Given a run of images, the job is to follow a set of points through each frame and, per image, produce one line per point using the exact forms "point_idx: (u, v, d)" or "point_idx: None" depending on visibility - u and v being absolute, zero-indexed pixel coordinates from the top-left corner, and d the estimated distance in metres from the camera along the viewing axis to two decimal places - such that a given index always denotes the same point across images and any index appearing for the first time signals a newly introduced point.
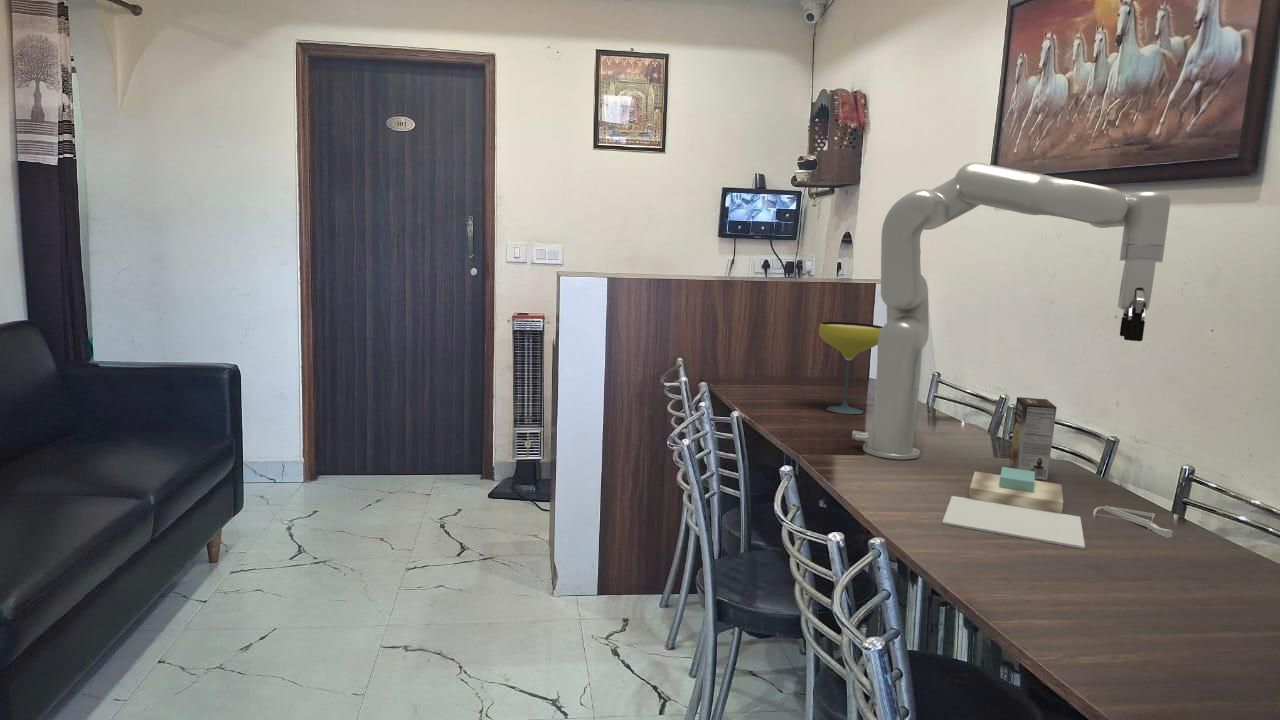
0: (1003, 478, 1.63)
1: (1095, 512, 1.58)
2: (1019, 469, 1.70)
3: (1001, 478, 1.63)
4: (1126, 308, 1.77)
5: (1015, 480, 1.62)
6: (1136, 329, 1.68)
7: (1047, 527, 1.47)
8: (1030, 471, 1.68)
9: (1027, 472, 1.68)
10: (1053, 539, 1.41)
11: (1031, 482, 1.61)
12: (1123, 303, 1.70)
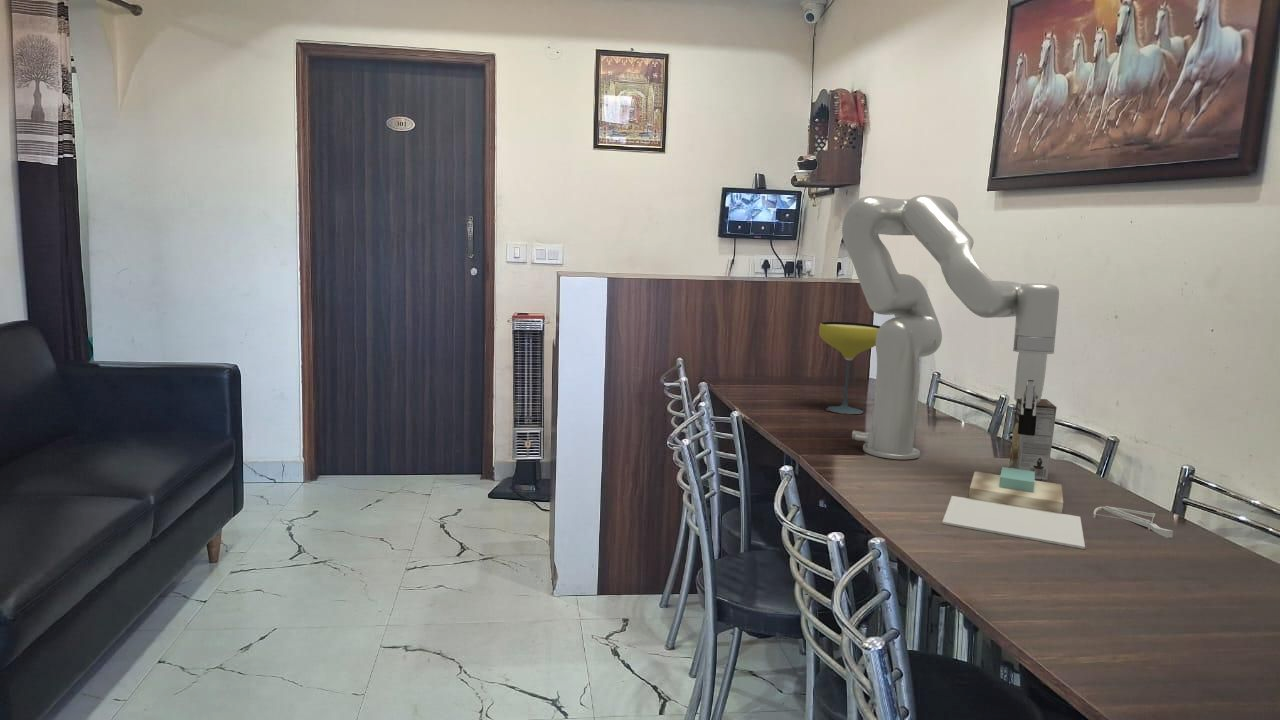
0: (1003, 478, 1.63)
1: (1095, 512, 1.58)
2: (1019, 469, 1.70)
3: (1001, 478, 1.63)
4: None
5: (1015, 480, 1.62)
6: (1028, 424, 1.72)
7: (1047, 527, 1.47)
8: (1030, 471, 1.68)
9: (1027, 472, 1.68)
10: (1053, 539, 1.41)
11: (1031, 482, 1.61)
12: (1016, 395, 1.69)
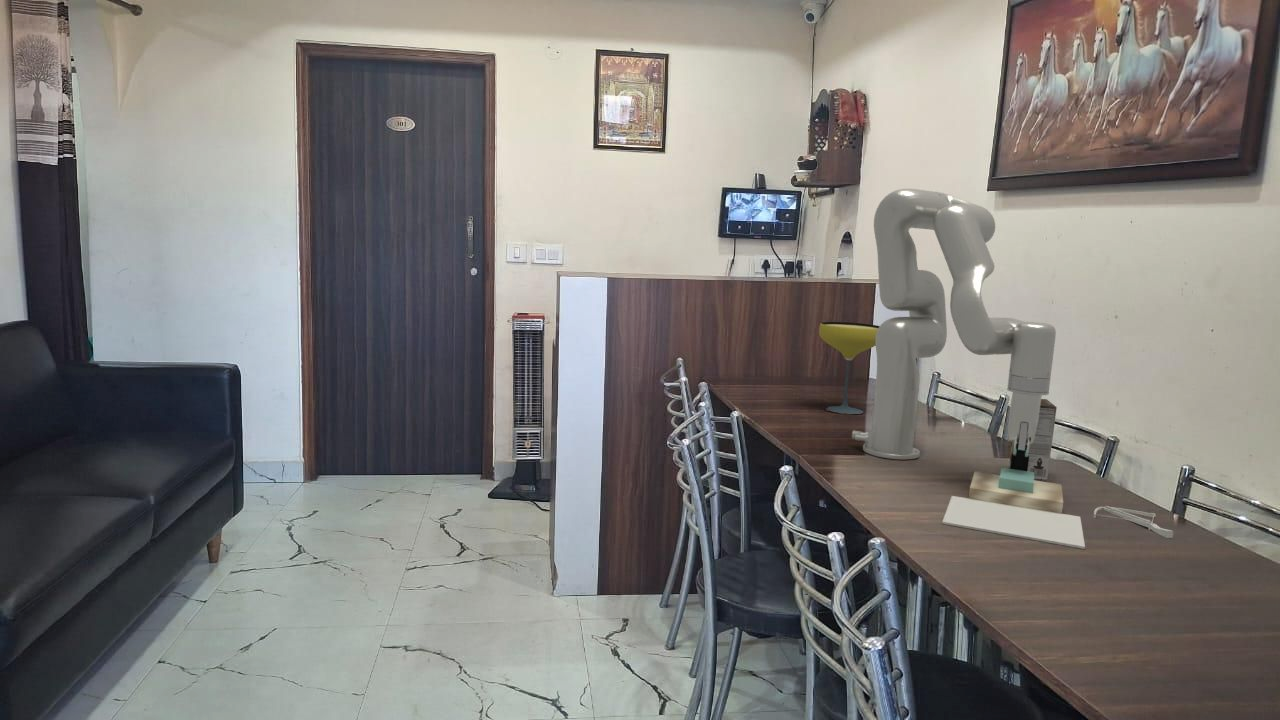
0: (1002, 479, 1.62)
1: (1096, 512, 1.57)
2: (1019, 470, 1.69)
3: (1000, 479, 1.62)
4: None
5: (1014, 481, 1.61)
6: (1020, 465, 1.69)
7: (1047, 527, 1.47)
8: (1030, 472, 1.68)
9: (1027, 473, 1.67)
10: (1053, 539, 1.41)
11: (1030, 483, 1.60)
12: (1008, 436, 1.66)
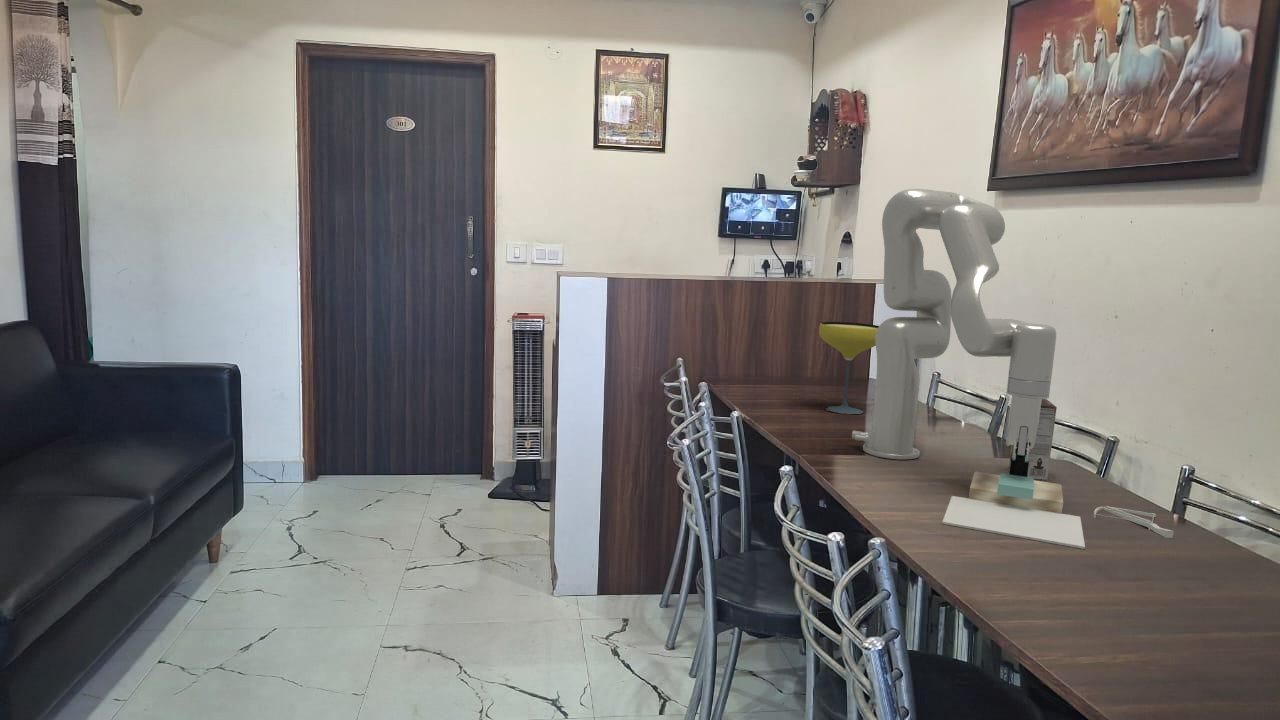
0: (1001, 485, 1.58)
1: (1096, 512, 1.57)
2: None
3: (999, 485, 1.58)
4: (1015, 444, 1.66)
5: (1014, 487, 1.57)
6: (1020, 470, 1.64)
7: (1047, 527, 1.47)
8: (1029, 477, 1.63)
9: (1026, 478, 1.62)
10: (1053, 539, 1.41)
11: (1030, 489, 1.56)
12: (1008, 441, 1.62)
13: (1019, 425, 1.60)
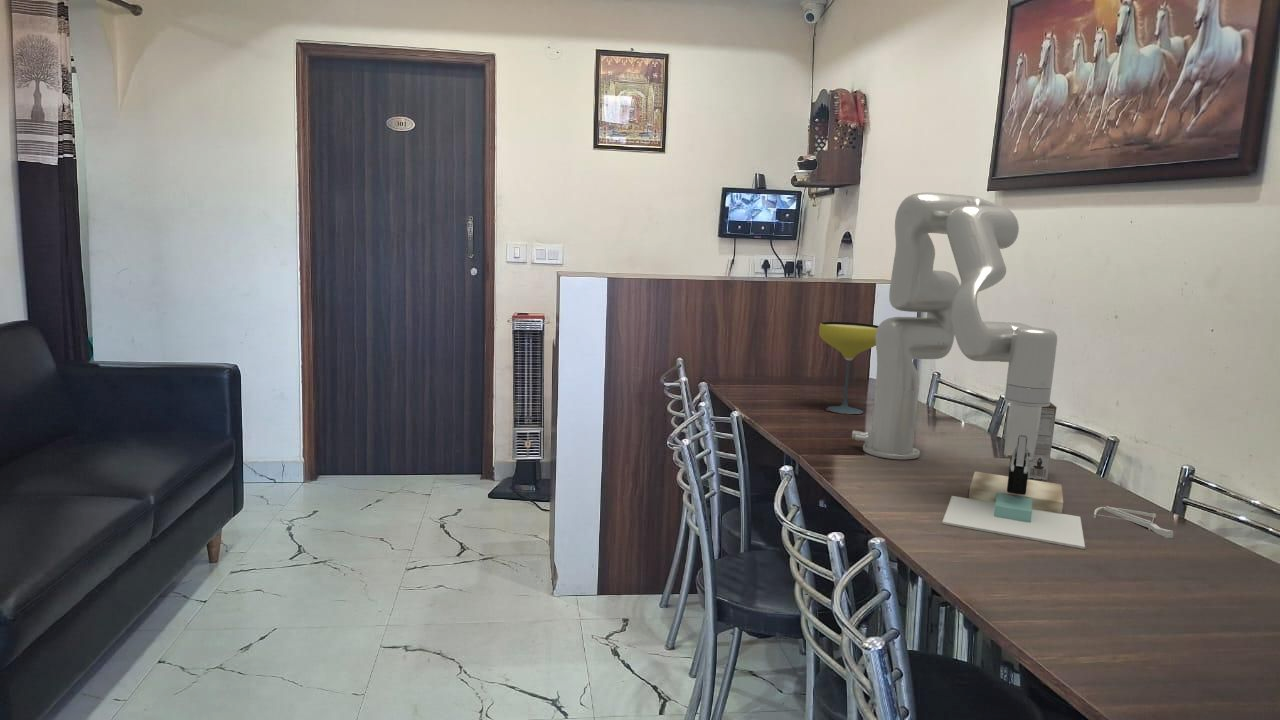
0: (998, 507, 1.51)
1: (1096, 512, 1.57)
2: (1015, 496, 1.58)
3: (996, 507, 1.51)
4: None
5: (1011, 509, 1.50)
6: (1019, 482, 1.56)
7: (1047, 527, 1.47)
8: (1027, 498, 1.57)
9: (1024, 499, 1.56)
10: (1053, 539, 1.41)
11: (1028, 511, 1.49)
12: (1006, 451, 1.53)
13: (1017, 434, 1.52)
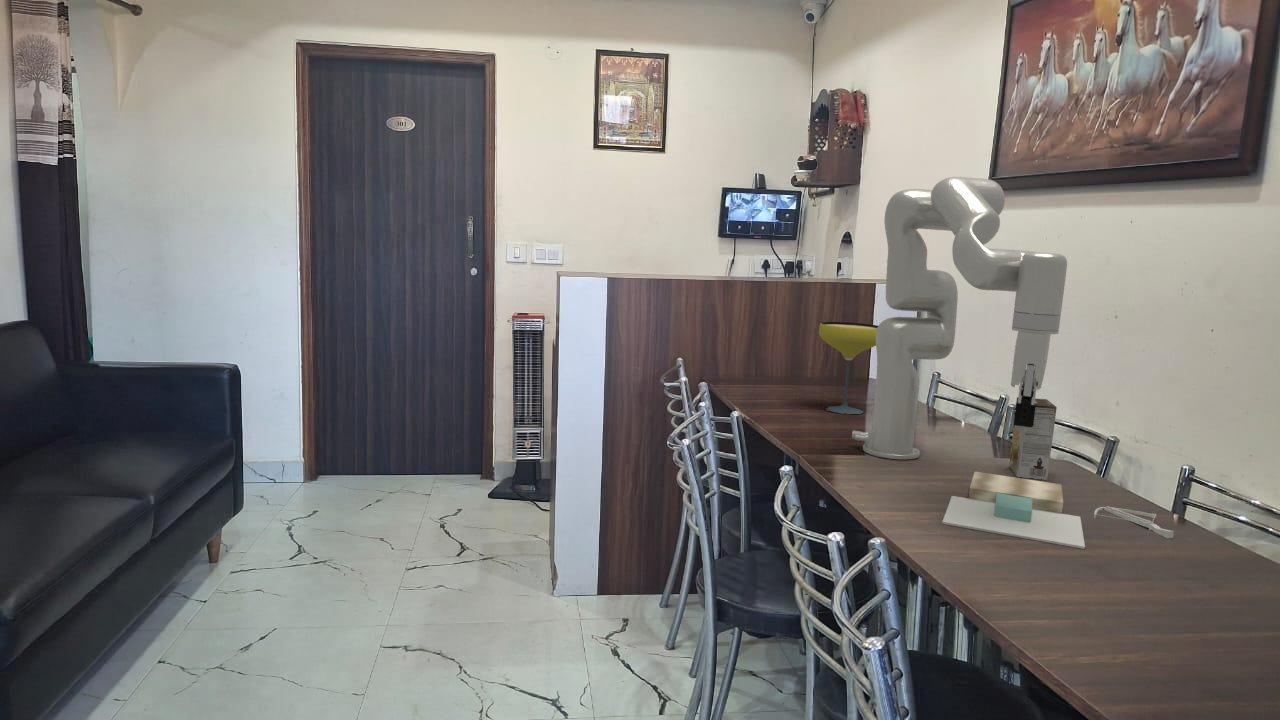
0: (998, 507, 1.51)
1: (1096, 512, 1.57)
2: (1015, 496, 1.58)
3: (996, 507, 1.51)
4: None
5: (1011, 509, 1.50)
6: (1026, 414, 1.50)
7: (1047, 527, 1.47)
8: (1027, 498, 1.57)
9: (1024, 499, 1.56)
10: (1053, 539, 1.41)
11: (1028, 511, 1.49)
12: (1013, 380, 1.47)
13: (1025, 363, 1.46)
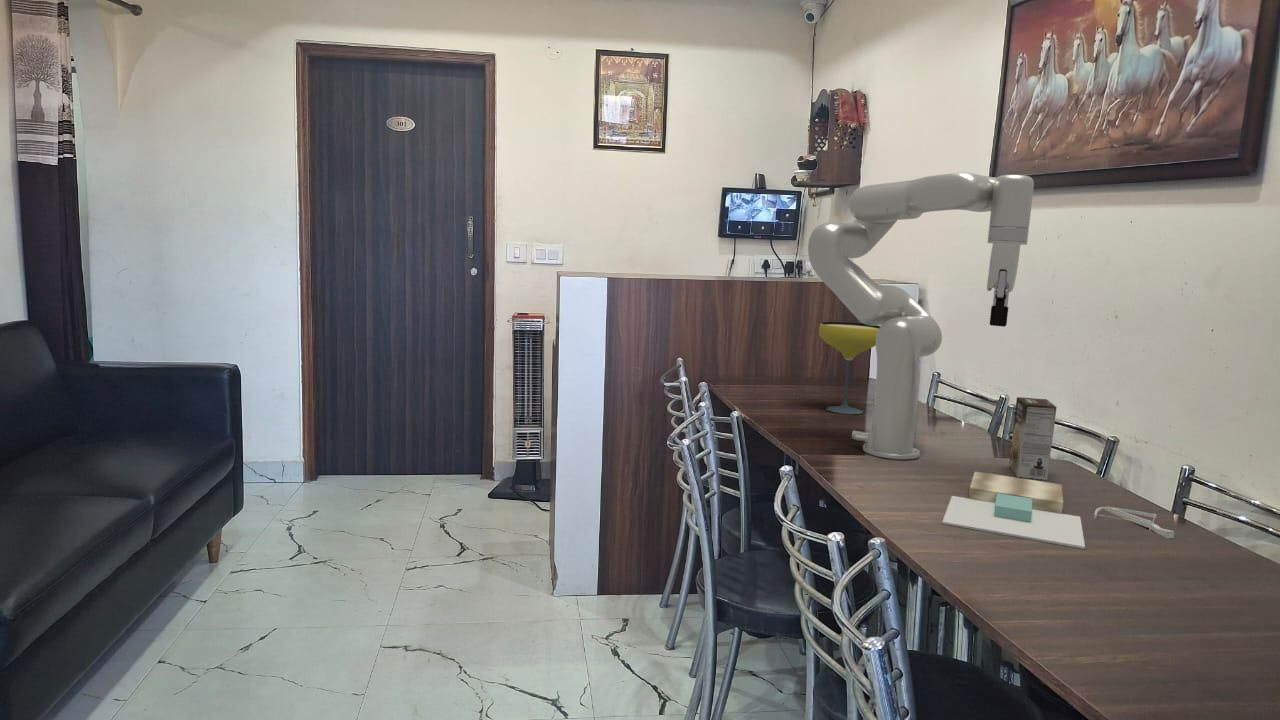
0: (998, 507, 1.51)
1: (1096, 512, 1.57)
2: (1015, 496, 1.58)
3: (996, 507, 1.51)
4: None
5: (1011, 509, 1.50)
6: (1000, 315, 1.75)
7: (1047, 527, 1.47)
8: (1027, 498, 1.57)
9: (1024, 499, 1.56)
10: (1053, 539, 1.41)
11: (1028, 511, 1.49)
12: (988, 284, 1.72)
13: (998, 268, 1.71)
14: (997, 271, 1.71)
